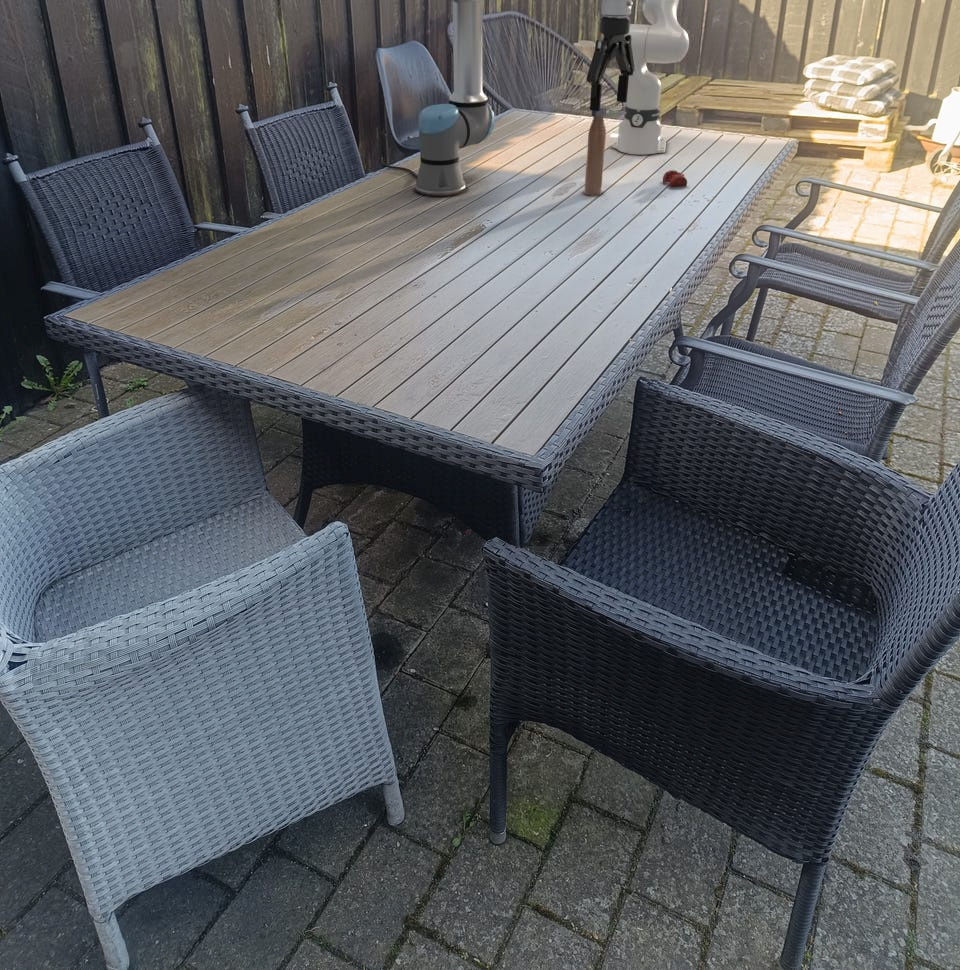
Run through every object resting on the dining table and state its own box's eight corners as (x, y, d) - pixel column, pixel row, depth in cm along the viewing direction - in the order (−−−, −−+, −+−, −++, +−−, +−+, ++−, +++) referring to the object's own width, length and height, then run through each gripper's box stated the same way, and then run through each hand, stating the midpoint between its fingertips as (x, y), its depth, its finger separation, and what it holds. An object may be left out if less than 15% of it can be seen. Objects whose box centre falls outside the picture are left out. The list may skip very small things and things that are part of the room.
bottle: (588, 196, 253) (595, 110, 239) (581, 191, 257) (587, 106, 243) (604, 194, 254) (611, 109, 240) (596, 190, 258) (603, 105, 244)
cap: (595, 117, 241) (596, 108, 239) (589, 114, 244) (589, 105, 242) (608, 116, 242) (608, 107, 240) (601, 113, 245) (602, 104, 244)
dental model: (678, 166, 263) (689, 173, 257) (677, 180, 266) (688, 187, 260) (661, 168, 262) (672, 175, 256) (660, 182, 265) (671, 189, 259)
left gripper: (602, 22, 204) (595, 116, 216) (653, 12, 219) (644, 100, 232) (576, 19, 207) (570, 112, 220) (628, 10, 223) (620, 96, 236)
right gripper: (668, -46, 238) (662, 10, 246) (599, -48, 244) (595, 6, 252) (663, -45, 233) (657, 12, 241) (592, -47, 239) (589, 9, 248)
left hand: (608, 106), depth 226 cm, fingers open, 13 cm apart
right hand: (625, 9), depth 247 cm, fingers open, 8 cm apart
